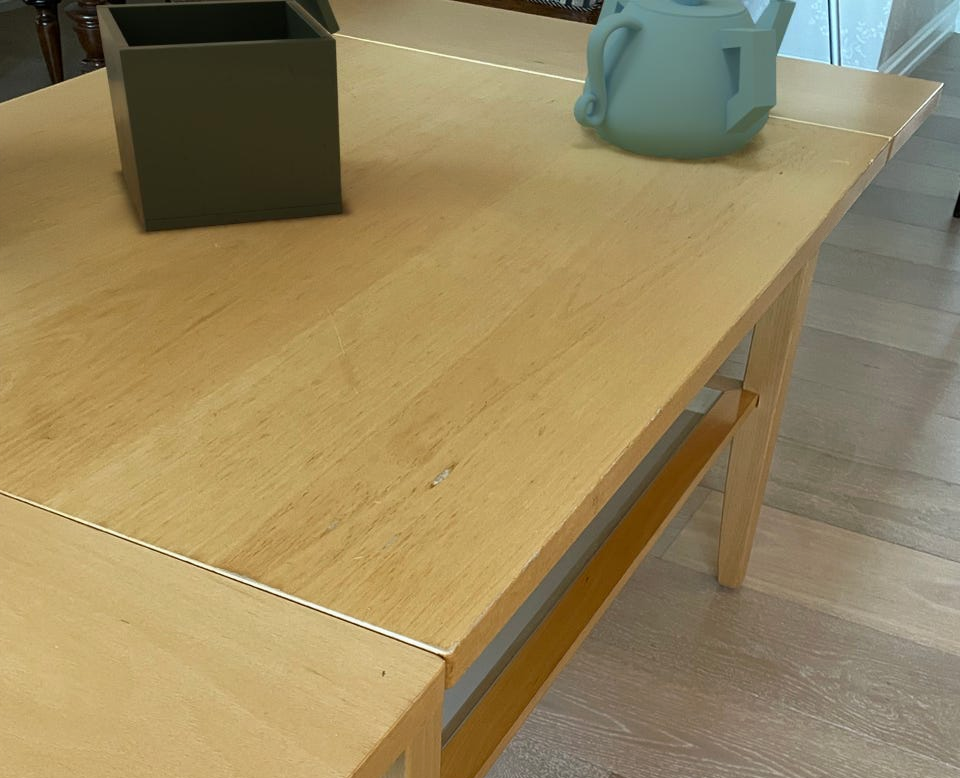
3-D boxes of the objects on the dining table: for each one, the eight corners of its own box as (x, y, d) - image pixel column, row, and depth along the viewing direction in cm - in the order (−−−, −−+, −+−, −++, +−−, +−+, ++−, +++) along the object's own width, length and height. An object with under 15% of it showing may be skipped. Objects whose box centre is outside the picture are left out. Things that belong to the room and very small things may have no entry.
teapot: (752, 177, 104) (784, 5, 95) (547, 149, 108) (559, -18, 99) (774, 119, 118) (803, -35, 109) (591, 96, 122) (605, -54, 113)
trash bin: (146, 231, 89) (119, 49, 80) (122, 173, 98) (96, 5, 90) (342, 213, 93) (336, 39, 85) (301, 158, 103) (292, -2, 94)
